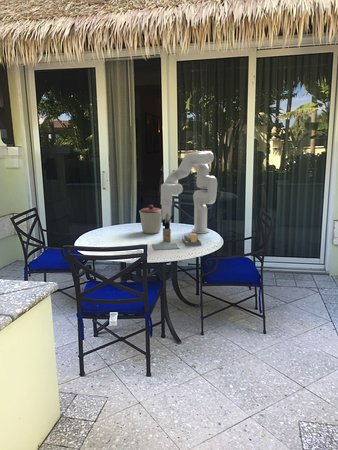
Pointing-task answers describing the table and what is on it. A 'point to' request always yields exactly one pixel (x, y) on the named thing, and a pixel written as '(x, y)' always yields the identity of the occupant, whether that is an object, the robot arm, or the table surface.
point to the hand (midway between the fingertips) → (166, 227)
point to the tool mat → (165, 246)
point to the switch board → (188, 241)
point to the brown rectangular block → (166, 235)
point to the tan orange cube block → (193, 237)
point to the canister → (151, 219)
